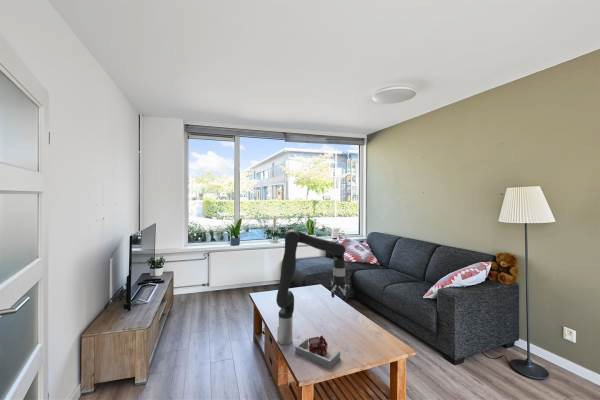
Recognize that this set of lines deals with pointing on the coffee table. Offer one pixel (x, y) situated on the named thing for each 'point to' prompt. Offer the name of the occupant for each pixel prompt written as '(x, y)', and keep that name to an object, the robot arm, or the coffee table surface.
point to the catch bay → (315, 357)
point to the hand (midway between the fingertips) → (338, 299)
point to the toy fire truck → (318, 345)
